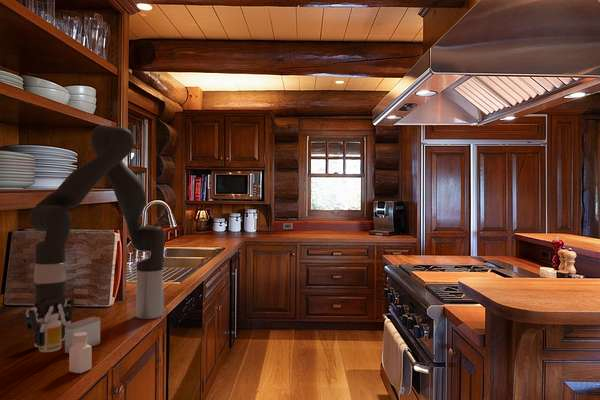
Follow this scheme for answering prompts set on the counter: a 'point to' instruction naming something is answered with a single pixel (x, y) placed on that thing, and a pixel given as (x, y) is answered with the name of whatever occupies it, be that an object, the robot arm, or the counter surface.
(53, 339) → the supplement bottle
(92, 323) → the housing
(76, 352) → the pepper shaker
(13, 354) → the counter surface
